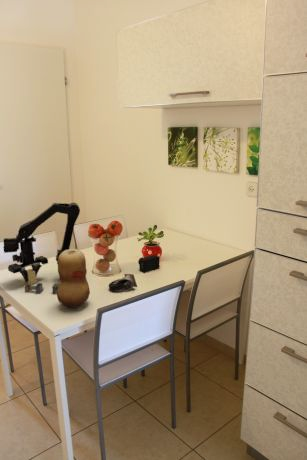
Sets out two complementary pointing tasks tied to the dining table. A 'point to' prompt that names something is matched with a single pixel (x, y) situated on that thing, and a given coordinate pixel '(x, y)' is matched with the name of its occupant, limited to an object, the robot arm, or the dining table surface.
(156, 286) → the dining table surface
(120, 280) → the caster wheel
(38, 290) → the shaft rig
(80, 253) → the butternut squash
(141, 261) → the digital camera
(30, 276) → the coupler
